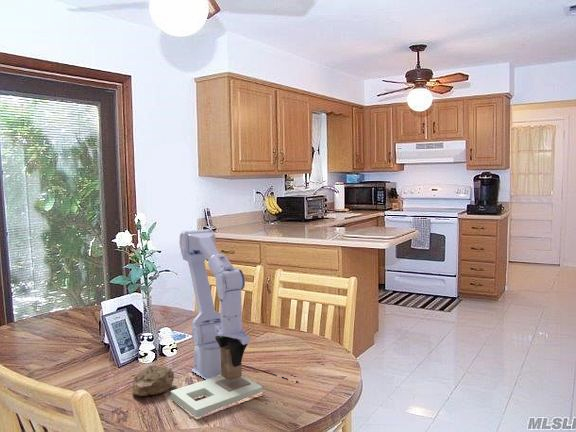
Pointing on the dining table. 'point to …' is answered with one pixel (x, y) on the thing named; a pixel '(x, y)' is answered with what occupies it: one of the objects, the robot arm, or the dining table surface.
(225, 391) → the board
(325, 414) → the dining table surface
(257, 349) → the dining table surface
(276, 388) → the dining table surface
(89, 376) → the dining table surface
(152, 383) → the rock
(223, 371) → the block
